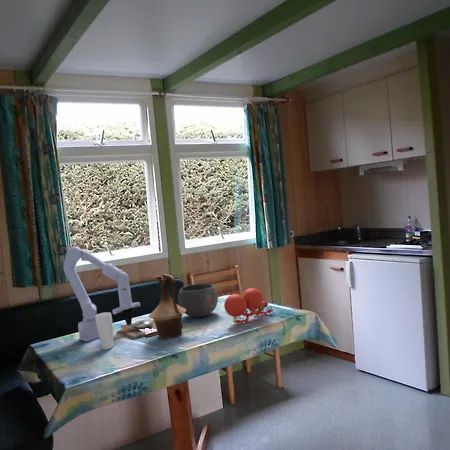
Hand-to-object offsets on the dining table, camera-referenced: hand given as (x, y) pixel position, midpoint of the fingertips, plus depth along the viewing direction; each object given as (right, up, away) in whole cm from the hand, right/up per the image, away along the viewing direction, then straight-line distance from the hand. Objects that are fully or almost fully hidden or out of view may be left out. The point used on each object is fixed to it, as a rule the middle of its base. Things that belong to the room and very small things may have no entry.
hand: (129, 324), depth 224 cm
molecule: (+58, +3, -7) cm, 59 cm away
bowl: (+34, +2, +11) cm, 36 cm away
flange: (+5, -1, -4) cm, 6 cm away
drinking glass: (-4, -5, -23) cm, 24 cm away
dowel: (+1, -2, -7) cm, 8 cm away
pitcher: (+22, -2, -16) cm, 27 cm away
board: (+8, -2, -3) cm, 9 cm away
